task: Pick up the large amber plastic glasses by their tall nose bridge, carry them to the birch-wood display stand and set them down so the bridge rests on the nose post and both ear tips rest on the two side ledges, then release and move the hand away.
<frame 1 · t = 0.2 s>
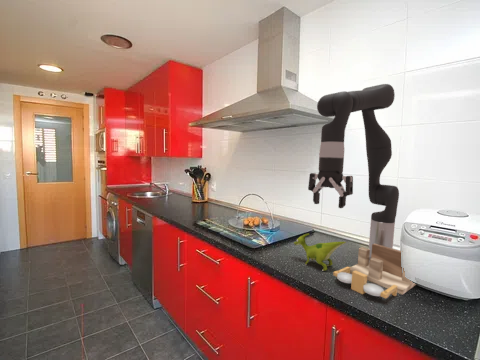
hand: (328, 205, 80), 28 cm above the worktop, tool pointing down, fingers open, 8 cm apart
toy: (316, 265, 100), on the worktop
display stand: (374, 281, 88), on the worktop
glasses: (358, 290, 81), on the worktop
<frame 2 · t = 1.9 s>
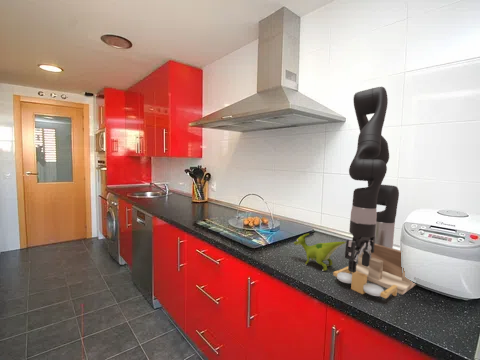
hand: (358, 268, 81), 8 cm above the worktop, tool pointing down, fingers open, 8 cm apart
nothing on the worktop moved.
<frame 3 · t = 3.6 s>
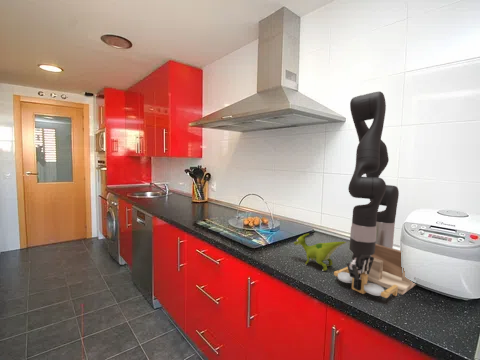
hand: (358, 287, 81), 1 cm above the worktop, tool pointing down, fingers closed on glasses
glasses: (358, 290, 81), on the worktop, touching gripper
everything else where it was.
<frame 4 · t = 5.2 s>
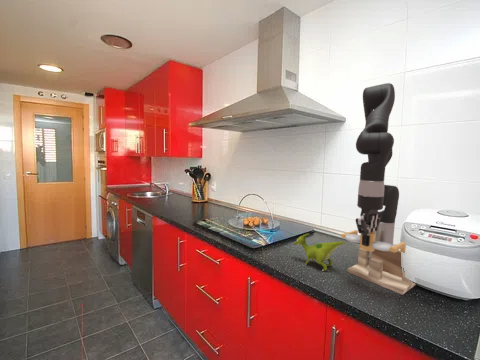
hand: (367, 244, 82), 15 cm above the worktop, tool pointing down, fingers closed on glasses
glasses: (367, 249, 82), point 14 cm above the worktop, touching gripper
everything else where it was.
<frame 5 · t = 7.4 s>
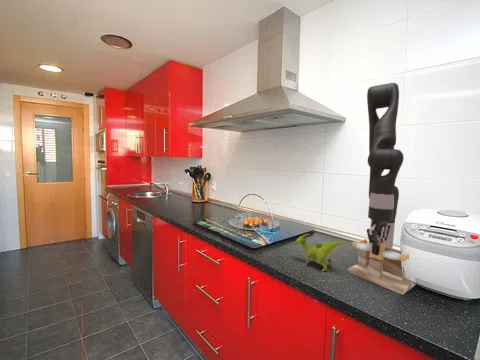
hand: (376, 253, 87), 10 cm above the worktop, tool pointing down, fingers closed on glasses
glasses: (376, 257, 87), point 9 cm above the worktop, touching gripper
everything else where it was.
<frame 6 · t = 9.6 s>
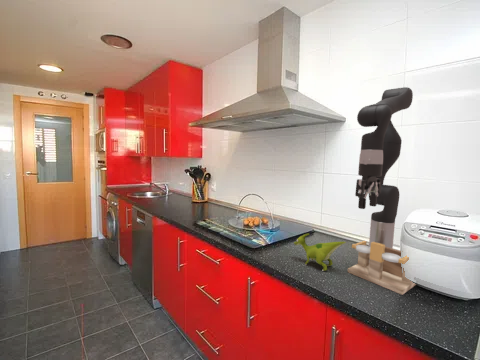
hand: (367, 207, 89), 26 cm above the worktop, tool pointing down, fingers open, 8 cm apart
glasses: (376, 260, 87), point 8 cm above the worktop, touching display stand
everything else where it was.
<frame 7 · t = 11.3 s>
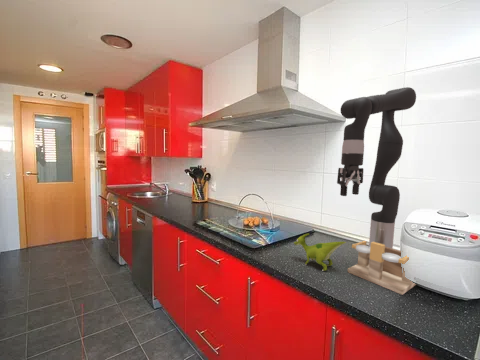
hand: (349, 195, 93), 30 cm above the worktop, tool pointing down, fingers open, 8 cm apart
nothing on the worktop moved.
at the end: glasses 0.0 cm off-centre on the display stand, point 8.0 cm above the display stand's base; the gripper is holding nothing; glasses tilted 0° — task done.
